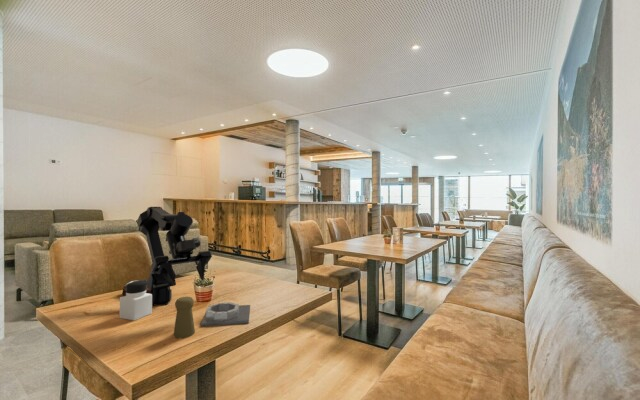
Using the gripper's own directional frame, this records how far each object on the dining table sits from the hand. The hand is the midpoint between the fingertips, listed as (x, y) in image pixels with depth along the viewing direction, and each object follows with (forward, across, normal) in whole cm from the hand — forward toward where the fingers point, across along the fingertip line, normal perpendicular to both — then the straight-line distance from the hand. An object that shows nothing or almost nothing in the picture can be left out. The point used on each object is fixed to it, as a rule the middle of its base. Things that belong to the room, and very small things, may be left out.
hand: (189, 282), depth 100 cm
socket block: (+13, +12, +6) cm, 18 cm away
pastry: (-20, -2, +44) cm, 49 cm away
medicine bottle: (-2, -11, +23) cm, 26 cm away
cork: (+15, -4, +4) cm, 16 cm away
